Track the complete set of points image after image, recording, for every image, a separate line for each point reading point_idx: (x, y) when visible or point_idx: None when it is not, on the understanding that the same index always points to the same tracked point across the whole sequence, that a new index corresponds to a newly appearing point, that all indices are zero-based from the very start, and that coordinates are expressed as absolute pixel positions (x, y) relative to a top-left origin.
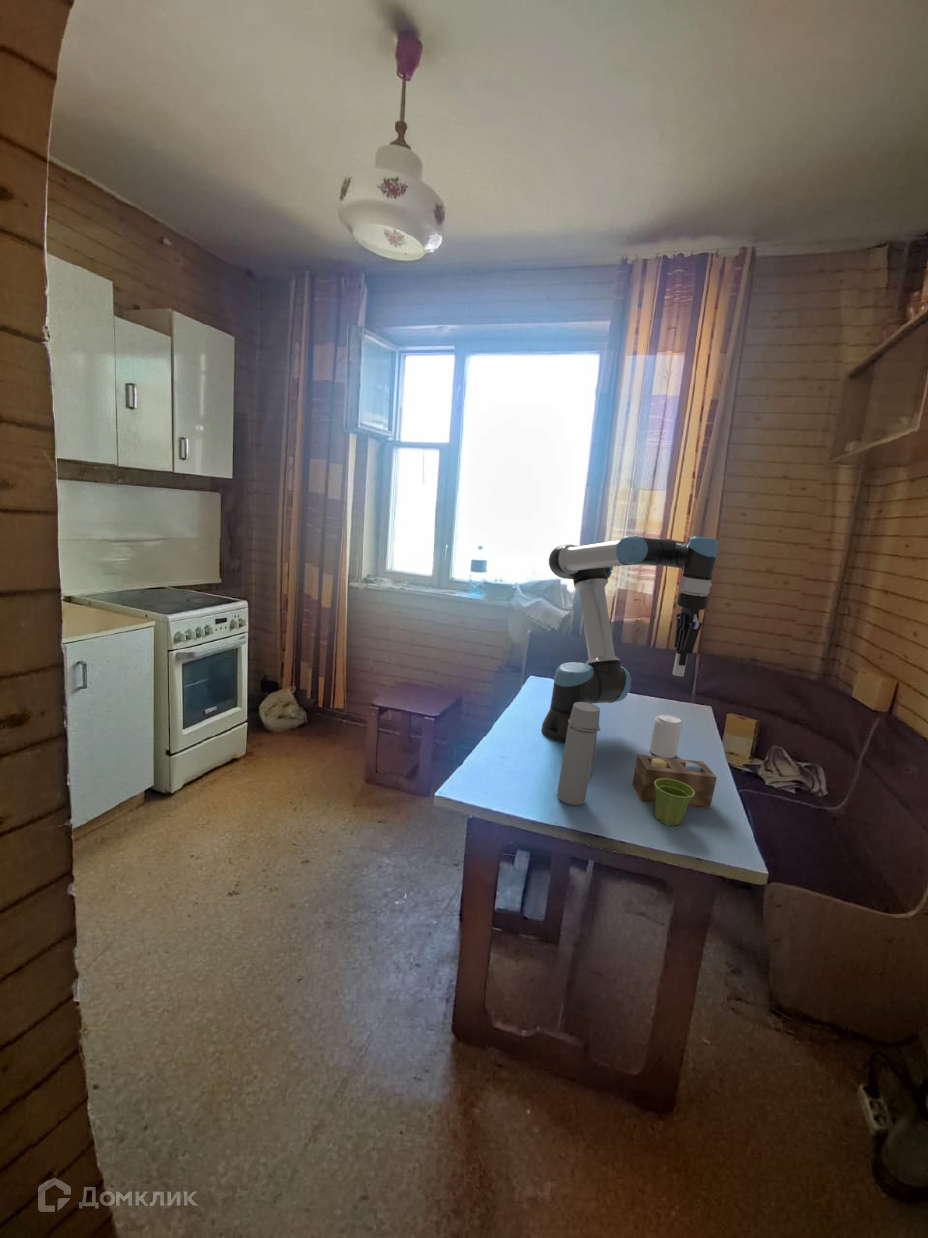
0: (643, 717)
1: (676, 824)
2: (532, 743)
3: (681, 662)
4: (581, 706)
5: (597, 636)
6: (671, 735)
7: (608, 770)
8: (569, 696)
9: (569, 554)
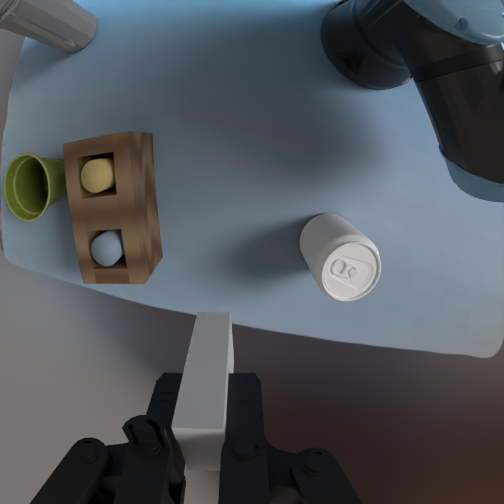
0: (479, 254)
1: (43, 187)
2: None
3: (154, 392)
4: None
5: None
6: (309, 261)
7: (204, 94)
8: None
9: None
